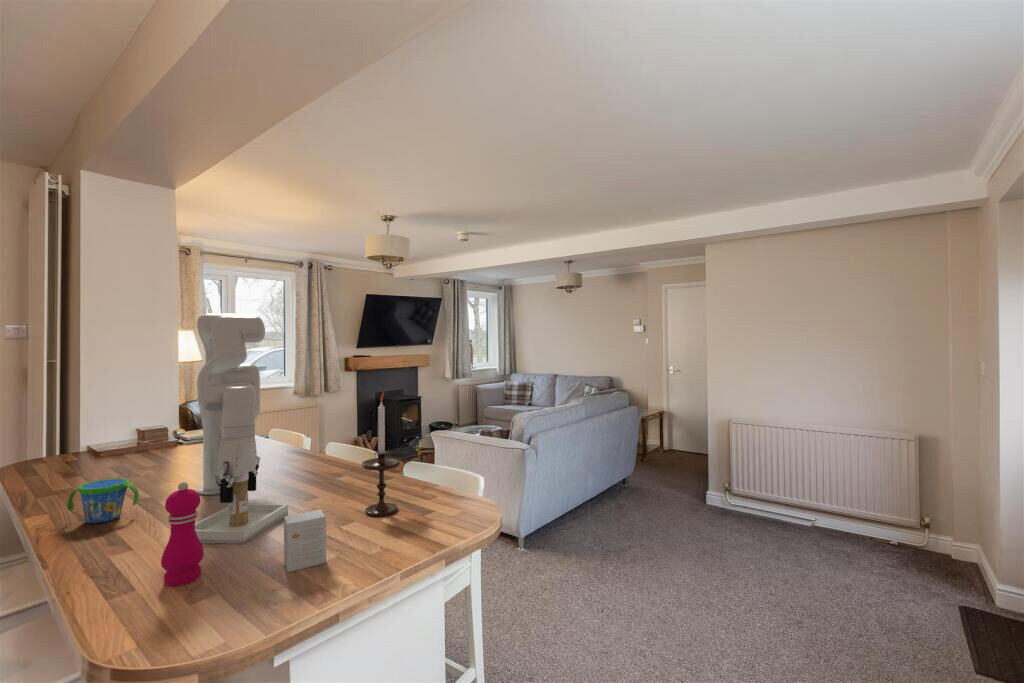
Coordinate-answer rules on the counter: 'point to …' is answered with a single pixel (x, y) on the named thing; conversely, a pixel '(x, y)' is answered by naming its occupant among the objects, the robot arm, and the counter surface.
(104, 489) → the snack cup
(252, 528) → the tray
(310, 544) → the small box
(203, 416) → the robot arm
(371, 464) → the candlestick
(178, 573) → the pepper mill
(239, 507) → the sprinkles bottle
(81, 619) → the counter surface
